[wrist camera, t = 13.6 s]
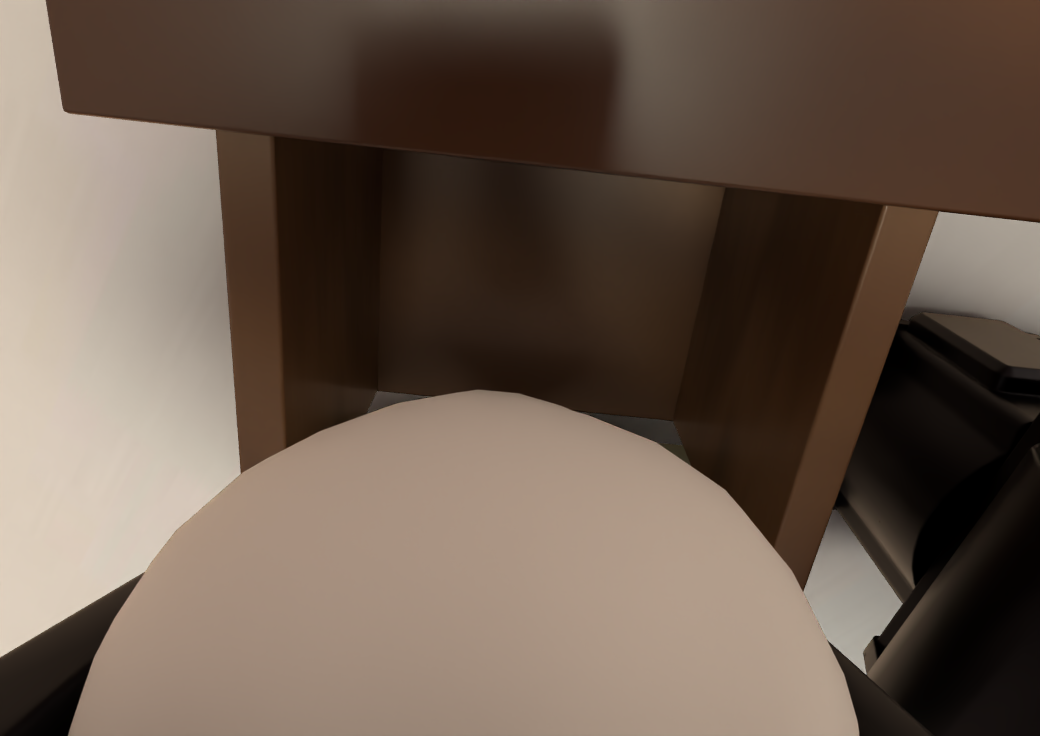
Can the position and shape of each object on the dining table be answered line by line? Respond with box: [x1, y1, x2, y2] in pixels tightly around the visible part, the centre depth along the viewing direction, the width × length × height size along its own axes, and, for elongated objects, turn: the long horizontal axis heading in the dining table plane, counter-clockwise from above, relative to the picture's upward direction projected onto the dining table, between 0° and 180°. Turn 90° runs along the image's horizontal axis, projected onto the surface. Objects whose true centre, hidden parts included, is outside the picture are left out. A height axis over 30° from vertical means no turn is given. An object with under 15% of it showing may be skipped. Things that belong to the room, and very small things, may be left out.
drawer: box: [216, 130, 939, 591], centre depth 15 cm, size 18×11×9 cm, turn 174°
